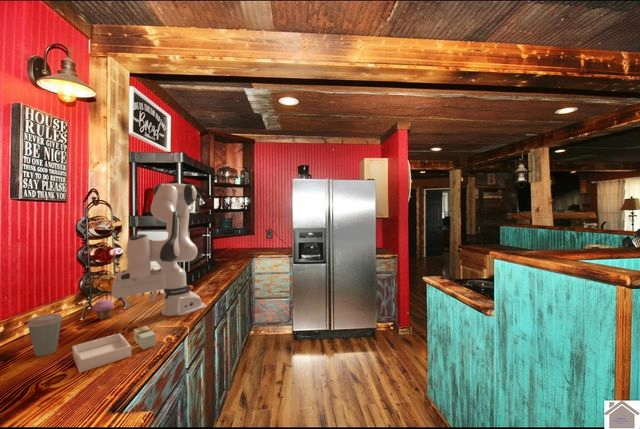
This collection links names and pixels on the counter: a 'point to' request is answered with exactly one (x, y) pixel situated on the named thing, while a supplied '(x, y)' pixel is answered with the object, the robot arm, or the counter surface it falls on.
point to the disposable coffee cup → (45, 333)
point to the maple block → (140, 331)
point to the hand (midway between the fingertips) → (140, 303)
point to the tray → (100, 352)
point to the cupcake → (103, 308)
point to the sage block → (147, 340)
